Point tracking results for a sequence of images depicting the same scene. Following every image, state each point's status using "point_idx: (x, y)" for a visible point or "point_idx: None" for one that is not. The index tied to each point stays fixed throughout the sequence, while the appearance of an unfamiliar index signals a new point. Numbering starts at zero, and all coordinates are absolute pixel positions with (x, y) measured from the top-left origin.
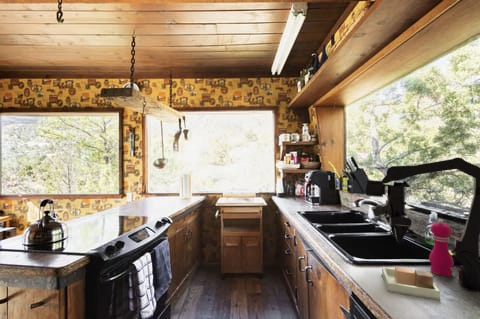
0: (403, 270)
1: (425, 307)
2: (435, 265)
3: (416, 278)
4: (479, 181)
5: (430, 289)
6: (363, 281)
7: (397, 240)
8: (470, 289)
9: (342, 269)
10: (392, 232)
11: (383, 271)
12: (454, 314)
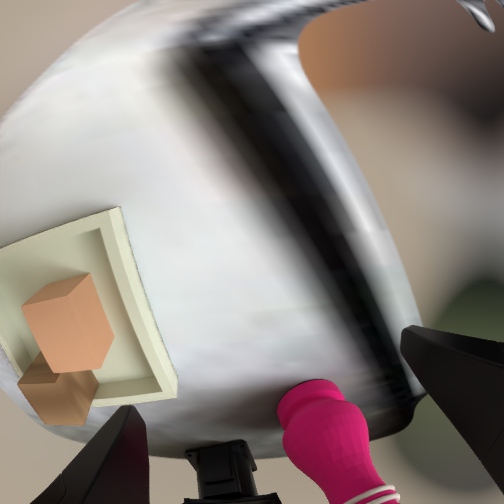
0: (46, 333)
1: None
2: (296, 415)
3: (42, 368)
4: None
5: None
6: (4, 154)
7: (111, 418)
8: (187, 457)
9: (83, 36)
10: (424, 340)
11: (57, 227)
12: (11, 398)
